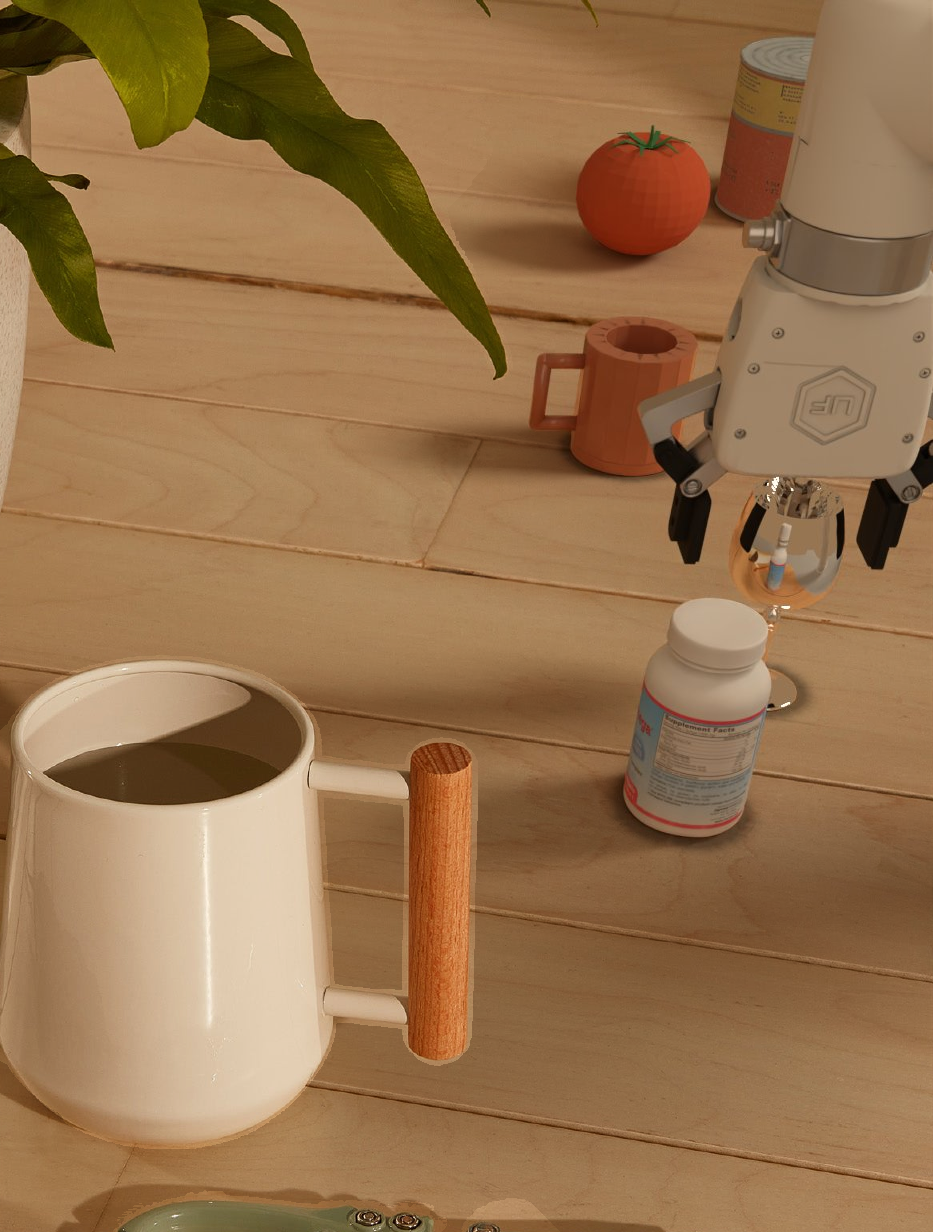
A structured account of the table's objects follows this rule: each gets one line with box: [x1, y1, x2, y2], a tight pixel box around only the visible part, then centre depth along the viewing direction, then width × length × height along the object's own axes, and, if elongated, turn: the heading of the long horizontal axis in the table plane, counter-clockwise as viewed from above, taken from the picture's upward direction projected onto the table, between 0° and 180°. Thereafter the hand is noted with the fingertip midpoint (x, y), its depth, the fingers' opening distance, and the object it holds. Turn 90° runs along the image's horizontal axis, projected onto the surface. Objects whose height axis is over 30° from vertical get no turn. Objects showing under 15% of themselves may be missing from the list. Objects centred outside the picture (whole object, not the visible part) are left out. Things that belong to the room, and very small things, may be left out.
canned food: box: [714, 36, 815, 223], centre depth 166 cm, size 11×11×12 cm
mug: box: [528, 315, 699, 477], centre depth 134 cm, size 10×7×8 cm
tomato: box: [575, 124, 711, 256], centre depth 159 cm, size 10×10×10 cm
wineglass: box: [728, 477, 847, 712], centre depth 110 cm, size 6×6×12 cm
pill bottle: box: [622, 597, 771, 838], centre depth 102 cm, size 6×6×11 cm
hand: (777, 553), depth 109 cm, fingers open, 9 cm apart
